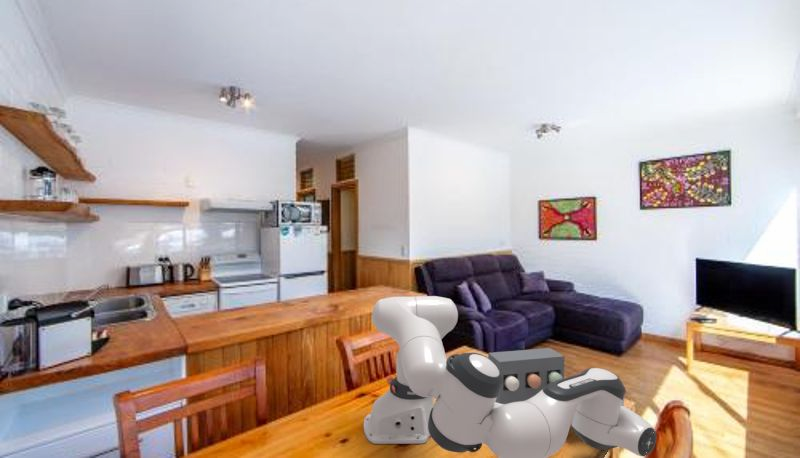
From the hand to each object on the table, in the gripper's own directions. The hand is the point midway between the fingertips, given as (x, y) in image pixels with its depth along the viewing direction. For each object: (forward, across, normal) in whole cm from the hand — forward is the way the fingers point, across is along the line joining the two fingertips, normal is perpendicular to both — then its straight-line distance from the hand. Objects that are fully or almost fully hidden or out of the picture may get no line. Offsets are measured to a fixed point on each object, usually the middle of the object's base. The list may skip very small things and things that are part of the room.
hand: (565, 385), depth 112 cm
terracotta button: (+5, -8, -2) cm, 10 cm away
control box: (+10, -8, -9) cm, 16 cm away
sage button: (+5, 0, -2) cm, 5 cm away
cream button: (+5, -16, -2) cm, 17 cm away
